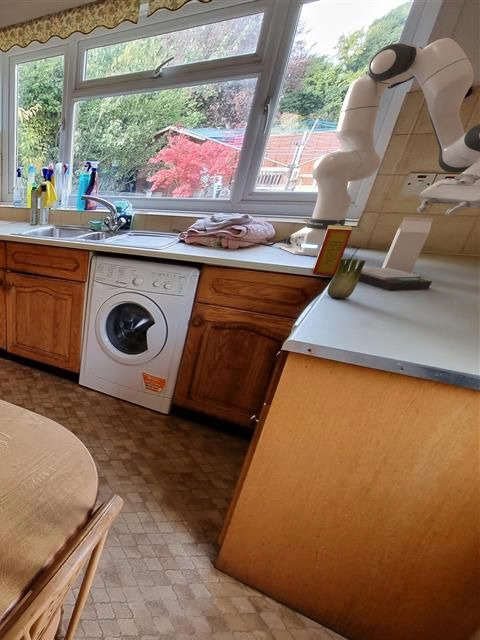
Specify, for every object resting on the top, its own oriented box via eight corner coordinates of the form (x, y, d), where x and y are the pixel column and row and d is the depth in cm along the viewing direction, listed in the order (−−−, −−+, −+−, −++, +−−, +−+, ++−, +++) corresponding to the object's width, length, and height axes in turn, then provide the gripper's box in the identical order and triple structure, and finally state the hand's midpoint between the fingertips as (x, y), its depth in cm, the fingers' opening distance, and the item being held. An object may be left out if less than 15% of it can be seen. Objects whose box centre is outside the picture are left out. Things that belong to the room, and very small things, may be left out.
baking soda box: (334, 275, 154) (352, 228, 146) (312, 273, 157) (328, 227, 150) (334, 270, 161) (351, 225, 153) (313, 268, 164) (328, 224, 156)
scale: (347, 277, 151) (351, 268, 150) (383, 276, 151) (387, 267, 150) (388, 290, 137) (393, 280, 135) (428, 289, 137) (433, 278, 136)
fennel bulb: (352, 298, 131) (368, 258, 125) (345, 301, 129) (361, 261, 123) (330, 294, 135) (344, 255, 130) (322, 297, 133) (337, 257, 127)
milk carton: (408, 278, 149) (435, 219, 140) (381, 275, 153) (405, 218, 144) (406, 273, 154) (431, 217, 145) (380, 271, 158) (403, 216, 149)
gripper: (440, 171, 147) (400, 203, 152) (509, 173, 129) (461, 209, 134) (446, 185, 150) (406, 216, 154) (515, 189, 132) (467, 224, 136)
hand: (432, 213), depth 144 cm, fingers open, 8 cm apart
